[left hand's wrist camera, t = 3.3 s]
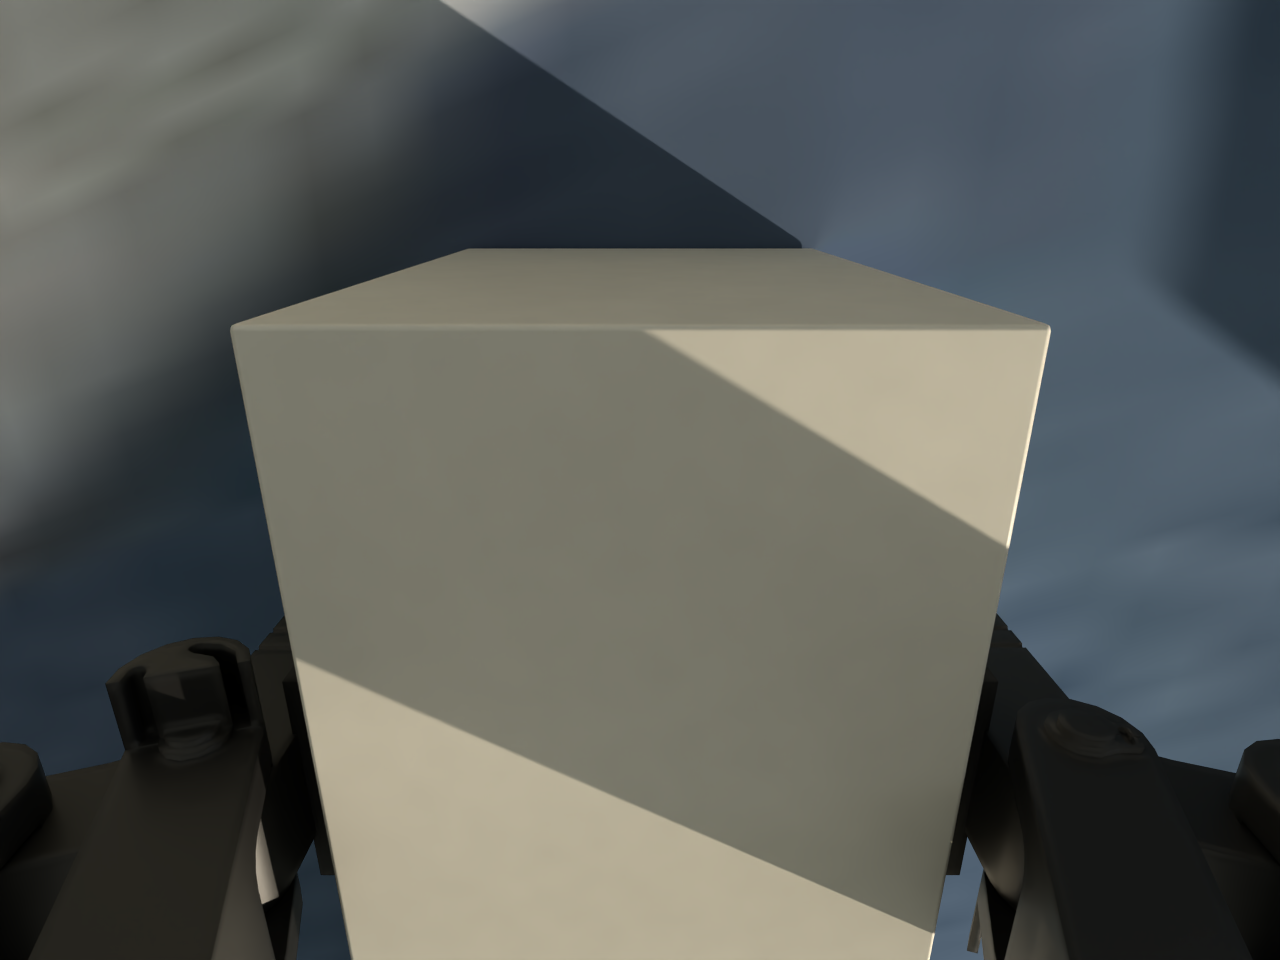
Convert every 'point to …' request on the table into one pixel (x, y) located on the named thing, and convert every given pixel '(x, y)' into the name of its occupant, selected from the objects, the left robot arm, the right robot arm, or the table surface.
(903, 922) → the beam
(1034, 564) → the table surface
